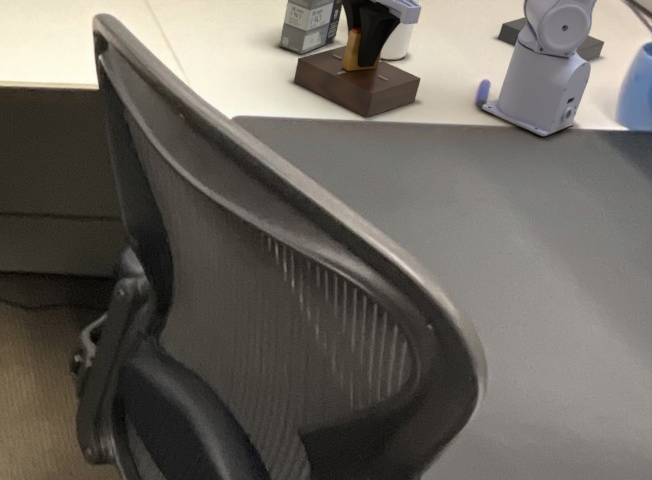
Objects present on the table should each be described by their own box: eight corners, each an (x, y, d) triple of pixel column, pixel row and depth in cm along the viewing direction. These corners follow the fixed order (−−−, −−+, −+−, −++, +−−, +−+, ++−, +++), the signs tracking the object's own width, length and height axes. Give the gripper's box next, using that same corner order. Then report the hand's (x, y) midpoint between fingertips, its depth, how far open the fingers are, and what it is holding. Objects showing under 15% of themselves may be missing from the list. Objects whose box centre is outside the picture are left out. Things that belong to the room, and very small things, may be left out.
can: (404, 64, 150) (428, -30, 142) (357, 55, 150) (378, -39, 142) (407, 48, 154) (430, -43, 146) (361, 39, 155) (382, -53, 147)
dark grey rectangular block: (599, 57, 162) (609, 29, 159) (567, 68, 157) (578, 39, 154) (530, 29, 167) (539, 1, 165) (497, 38, 162) (506, 10, 160)
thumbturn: (371, 64, 140) (380, 25, 136) (377, 68, 139) (386, 30, 136) (341, 66, 138) (350, 27, 135) (347, 71, 137) (356, 32, 134)
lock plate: (414, 101, 140) (421, 76, 138) (366, 117, 135) (372, 92, 133) (342, 67, 146) (348, 43, 144) (293, 81, 140) (298, 56, 138)
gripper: (325, -74, 131) (303, 42, 141) (397, -33, 123) (368, 88, 132) (372, -75, 134) (347, 38, 144) (446, -35, 126) (415, 83, 135)
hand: (360, 62), depth 138 cm, fingers closed on thumbturn
